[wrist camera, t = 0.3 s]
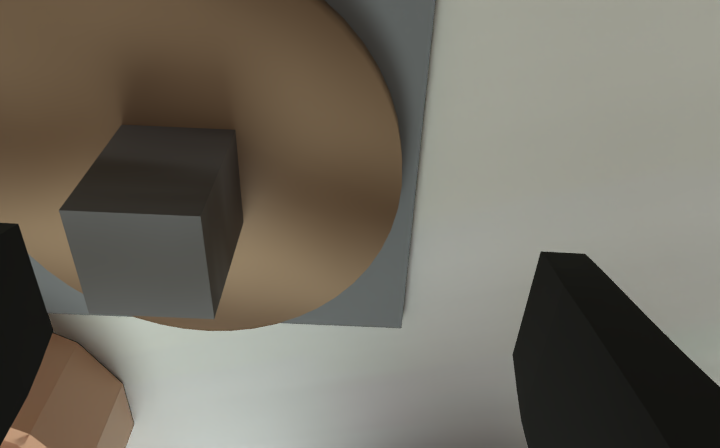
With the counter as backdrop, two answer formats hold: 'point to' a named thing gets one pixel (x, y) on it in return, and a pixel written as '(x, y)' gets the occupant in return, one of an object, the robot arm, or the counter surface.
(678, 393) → the robot arm
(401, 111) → the mat
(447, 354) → the counter surface
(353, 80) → the lid
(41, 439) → the bowl
